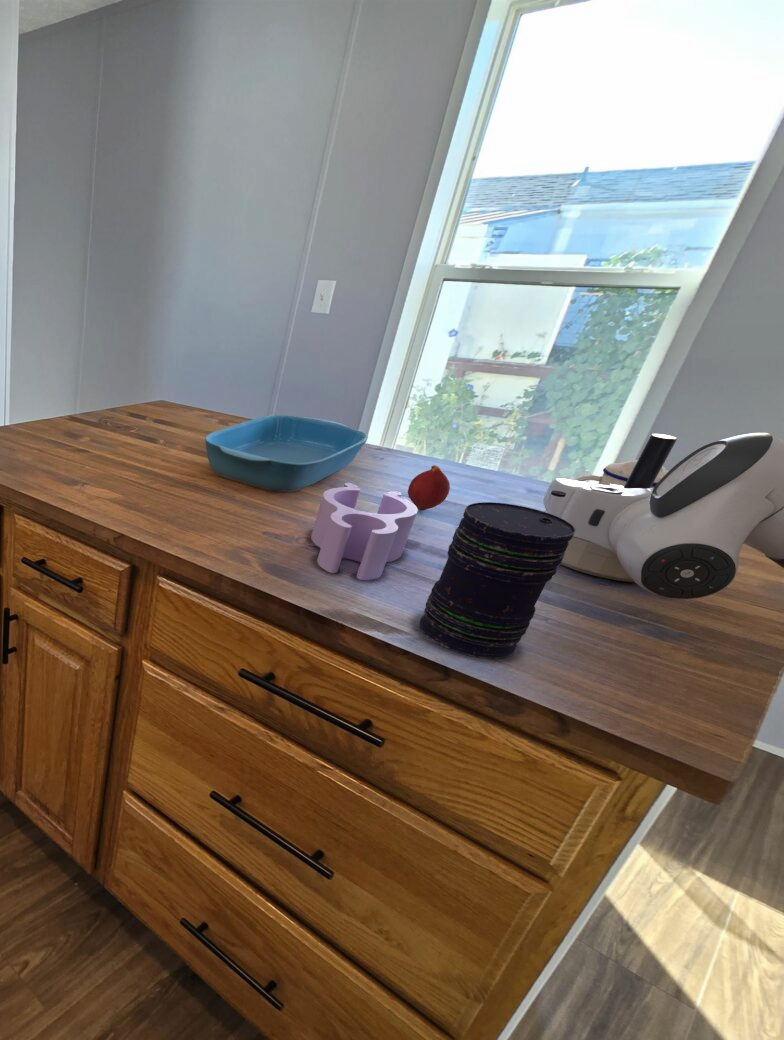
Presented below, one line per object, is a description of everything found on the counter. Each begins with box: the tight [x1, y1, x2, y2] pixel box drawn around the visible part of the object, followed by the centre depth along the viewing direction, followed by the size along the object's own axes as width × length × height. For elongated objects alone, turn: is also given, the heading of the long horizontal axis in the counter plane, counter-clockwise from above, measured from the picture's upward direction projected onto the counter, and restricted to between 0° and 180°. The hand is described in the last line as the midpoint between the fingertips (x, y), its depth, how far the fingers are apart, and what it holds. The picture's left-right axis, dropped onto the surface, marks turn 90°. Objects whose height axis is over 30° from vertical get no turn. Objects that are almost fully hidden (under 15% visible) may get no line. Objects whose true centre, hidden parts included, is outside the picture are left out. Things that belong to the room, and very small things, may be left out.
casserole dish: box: [204, 414, 369, 493], centre depth 129 cm, size 37×22×7 cm, turn 132°
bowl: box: [544, 509, 635, 583], centre depth 95 cm, size 16×16×6 cm
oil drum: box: [418, 490, 575, 660], centre depth 73 cm, size 10×10×18 cm
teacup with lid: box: [574, 459, 670, 488], centre depth 106 cm, size 12×9×12 cm
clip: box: [310, 482, 419, 581], centre depth 96 cm, size 20×12×7 cm, turn 148°
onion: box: [407, 464, 451, 512], centre depth 111 cm, size 6×6×8 cm
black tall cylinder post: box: [624, 433, 678, 489], centre depth 92 cm, size 6×6×18 cm
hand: (631, 492), depth 92 cm, fingers open, 3 cm apart
